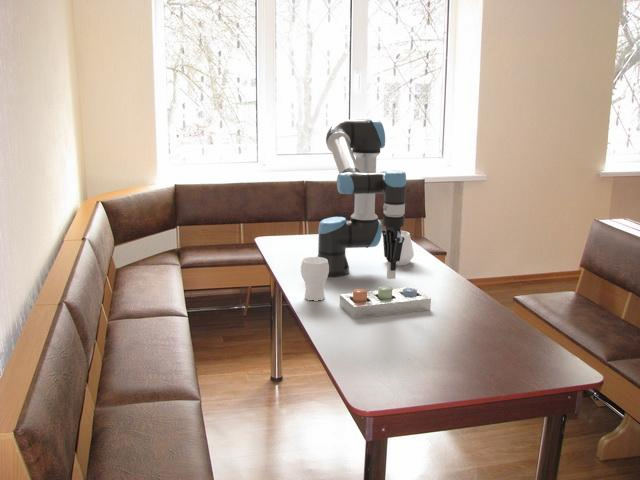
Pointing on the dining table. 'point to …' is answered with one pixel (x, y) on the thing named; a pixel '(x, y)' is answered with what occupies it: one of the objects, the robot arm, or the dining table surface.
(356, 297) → the button terracotta
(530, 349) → the dining table surface
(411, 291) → the button slate
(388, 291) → the button sage
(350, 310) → the panel
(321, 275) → the cup
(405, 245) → the white vase
